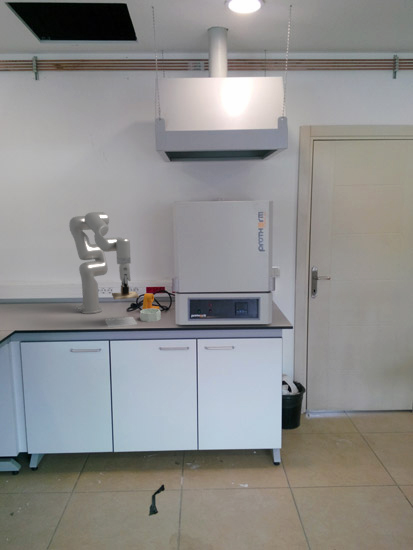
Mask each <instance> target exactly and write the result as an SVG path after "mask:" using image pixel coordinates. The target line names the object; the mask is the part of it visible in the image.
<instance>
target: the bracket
mask: <svg viewBox="0 0 413 550" xmlns="http://www.w3.org/2000/svg"><path fill="white" fill-rule="evenodd" d="M154 300H155V295H154V294H153V293H146V292H145V293H144V295H143V300H142V301H143V302H142V309H141V310H143V309H150V308H154V309H159V310H160V306H156V305H153V302H154Z"/></svg>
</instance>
